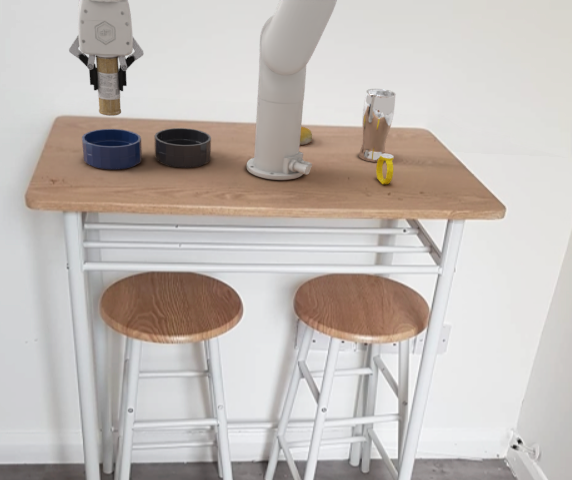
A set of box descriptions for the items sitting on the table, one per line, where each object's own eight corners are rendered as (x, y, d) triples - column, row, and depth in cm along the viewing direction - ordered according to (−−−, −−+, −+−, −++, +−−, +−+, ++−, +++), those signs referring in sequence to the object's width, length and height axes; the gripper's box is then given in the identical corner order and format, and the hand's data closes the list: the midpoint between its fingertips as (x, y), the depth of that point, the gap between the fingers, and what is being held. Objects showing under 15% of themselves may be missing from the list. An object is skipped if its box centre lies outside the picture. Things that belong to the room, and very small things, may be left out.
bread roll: (293, 148, 167) (295, 131, 165) (269, 137, 173) (271, 121, 171) (319, 142, 172) (321, 126, 170) (295, 132, 177) (296, 116, 175)
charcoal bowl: (221, 160, 157) (222, 137, 154) (183, 172, 148) (183, 149, 145) (182, 146, 162) (182, 124, 160) (143, 158, 154) (142, 135, 151)
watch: (371, 177, 154) (375, 150, 151) (383, 176, 155) (387, 150, 152) (381, 187, 150) (386, 160, 146) (394, 187, 150) (398, 160, 147)
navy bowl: (153, 161, 152) (152, 138, 150) (110, 175, 144) (108, 151, 141) (115, 147, 158) (114, 125, 156) (71, 159, 150) (69, 136, 147)
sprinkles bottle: (108, 108, 148) (104, 41, 141) (126, 113, 147) (123, 44, 140) (94, 113, 145) (89, 44, 138) (111, 118, 143) (108, 48, 136)
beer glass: (358, 151, 169) (367, 86, 161) (387, 155, 168) (397, 90, 160) (355, 160, 163) (363, 94, 155) (385, 164, 162) (395, 98, 154)
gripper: (55, -10, 129) (64, 92, 138) (149, -4, 132) (151, 95, 142) (58, -15, 135) (66, 83, 145) (148, -10, 138) (150, 85, 148)
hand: (108, 88), depth 143 cm, fingers closed on sprinkles bottle, 4 cm apart
